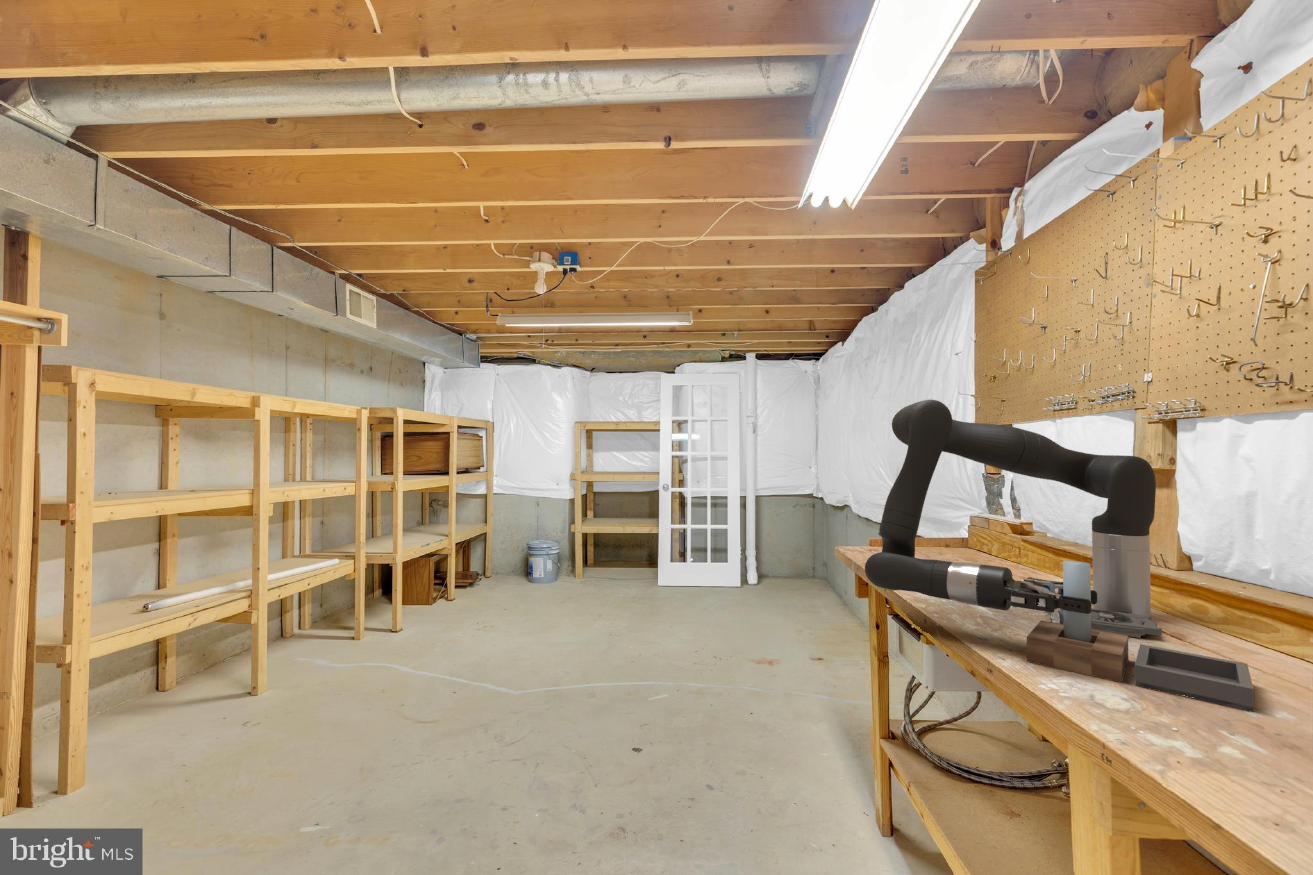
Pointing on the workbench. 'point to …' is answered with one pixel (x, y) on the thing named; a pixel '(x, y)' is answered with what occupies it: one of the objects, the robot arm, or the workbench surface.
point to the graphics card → (1116, 622)
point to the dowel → (1080, 587)
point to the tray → (1195, 676)
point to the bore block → (1079, 651)
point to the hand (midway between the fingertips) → (1093, 602)
